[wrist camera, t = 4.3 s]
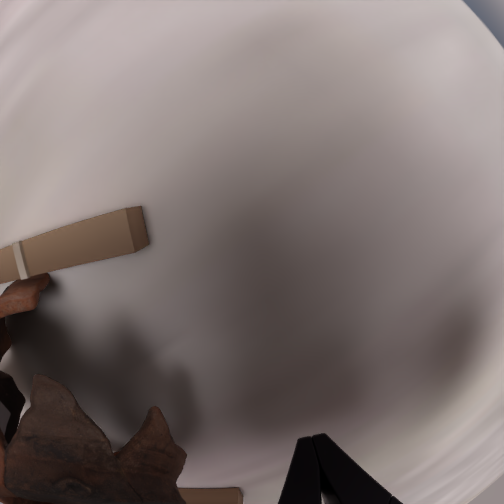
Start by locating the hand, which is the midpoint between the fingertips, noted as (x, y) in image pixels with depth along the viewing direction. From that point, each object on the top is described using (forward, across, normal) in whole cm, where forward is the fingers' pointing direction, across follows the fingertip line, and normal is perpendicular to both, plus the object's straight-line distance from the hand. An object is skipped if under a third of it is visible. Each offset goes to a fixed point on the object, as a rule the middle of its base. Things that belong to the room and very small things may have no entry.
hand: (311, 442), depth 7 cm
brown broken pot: (+3, +10, -1) cm, 10 cm away
